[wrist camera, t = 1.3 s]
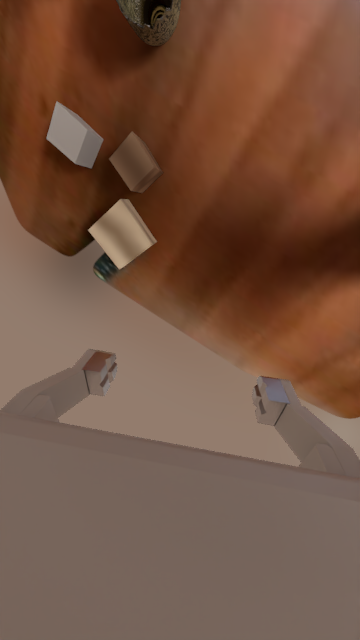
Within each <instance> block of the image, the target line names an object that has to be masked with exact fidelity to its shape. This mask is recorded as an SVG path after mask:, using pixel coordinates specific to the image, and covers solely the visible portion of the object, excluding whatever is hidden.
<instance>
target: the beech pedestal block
mask: <svg viewBox="0 0 360 640" xmlns="http://www.w3.org/2000/svg"><path fill="white" fill-rule="evenodd" d="M88 231H89V232H90V233H91V235H92V236H93V237H94V238H95V240H96V241H97V242H98V244H99V245H100V246H101V247H102V249H103V250H104V251H105V252H106V254H107V255H108V256H109V257H110V259H111V260H112V261H113V262H114V264H115V265H116V266H117V267H118V269H119V270H120V269H121V268H123V267H124V266H125V265H127V264H128V263H129V262H131V261H132V260H133V259H135V258H136V257H137V256H139V255H140V254H141V253H143V252H144V251H145V250H147V249H148V248H149V247H151V246H152V245H153V244H155V243H156V242H157V241H156V239H155V238H154V236H153V235H152V233H151V232H150V230H149V229H148V227H147V226H146V225H145V223H144V222H143V220H142V219H141V217H140V216H139V214H138V213H137V211H136V210H135V208H134V207H133V205H132V204H131V202H130V201H129V199H120V200H119V201H118V202H117V203H116V204H115V205H114V206H113V207H112V208H110V209H109V210H108V211H107V212H106V213H105V214H104V215H103V216H102V217H101V218H100V219H99V220H98V221H97V222H96V223H95V224H94V225H93V226H92V227H91V228H90V229H89V230H88Z"/></svg>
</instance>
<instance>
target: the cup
mask: <svg viewBox="0 0 360 640" xmlns="http://www.w3.org/2000/svg"><path fill="white" fill-rule="evenodd" d="M116 1H117V3H118V5H119V7H120V10H121V11H122V13H123V15H124V16H125V18H126V19H127V21H128V22H129V24H130V25H131V27H132V28H133V30H134V31H135V32H136V34H137V35H138V36H139V37H140V38H141V40H143V41H144V42H145V43H147V44H148V45H151V46H160V45H162V44H164V43H166V42H167V41H168V40H169V39H170V37H171V36H172V34H173V32H174V30H175V28H176V25H177V22H178V18H179V13H180V5H181V0H116ZM159 15H163V16H162V17H161V18H160V19H159V18H157V17H158V16H159ZM156 18H157V19H156Z"/></svg>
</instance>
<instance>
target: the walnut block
mask: <svg viewBox="0 0 360 640" xmlns="http://www.w3.org/2000/svg"><path fill="white" fill-rule="evenodd" d="M109 160H110V161H111V163H112V164H113V166H114V167H115V169H116V170H117V171H118V173H119V174H120V176H121V177H122V179H123V180H124V182H125V183H126V185H127V186H128V187H129V189H130V190H131V191H134V192H140V193H143V192H144V191H145V190H146V189H147V188H148V187H149V186H150V185H151V184H152V183H153V182H154V181H155V180H156V179H158V178H159V177H160V176H161V175H162V174H163V171H162V170H161V168H160V167H159V165H158V163H157V162H156V160H155V158H154V157H153V155H152V153H151V152H150V150H149V149H148V147H147V145H146V144H145V142H144V141H143V140H141V139H140V138H139V137H138V136H137V135H136V134H135V133H134V132H133V131H132V132H131V133H130V134H129V136H128V137H127V138H126V139H125V140H124V141H123V143H122V144H121V145H120V146H119V147H118V149H117V150H116V151H115V152H114V153H113V154H112V156H111V157H110V158H109Z"/></svg>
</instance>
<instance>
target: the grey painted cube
mask: <svg viewBox="0 0 360 640" xmlns="http://www.w3.org/2000/svg"><path fill="white" fill-rule="evenodd" d="M46 139H47V140H49V141H50V142H51V143H52V144H53V145H54V146H55V147H56V148H58V149H59V150H60V151H61V152H62V153H63V154H64V155H66V156H67V157H68V158H69V159H70V160H71V161H72V162H74V163H75V164H77V165H81V166H84V167H88V168H91V169H92V166H93V164H94V161H95V159H96V157H97V154H98V152H99V149H100V147H101V144H102V142H103V140H104V139H103V138H102V137H101V136H100V135H98V134H97V133H96V132H95V131H94V130H93V129H92V128H91V127H90V126H89V125H88V124H87V123H86V122H85V121H84V120H83V119H82V118H80V117H79V116H78V115H77V114H76V113H74V112H73V111H71V110H70V109H68V108H67V107H65V106H64V105H62V104H61V103H59V102H58V101H57V102H56V105H55V109H54V112H53V116H52V120H51V123H50V127H49V130H48V134H47V138H46Z"/></svg>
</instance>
